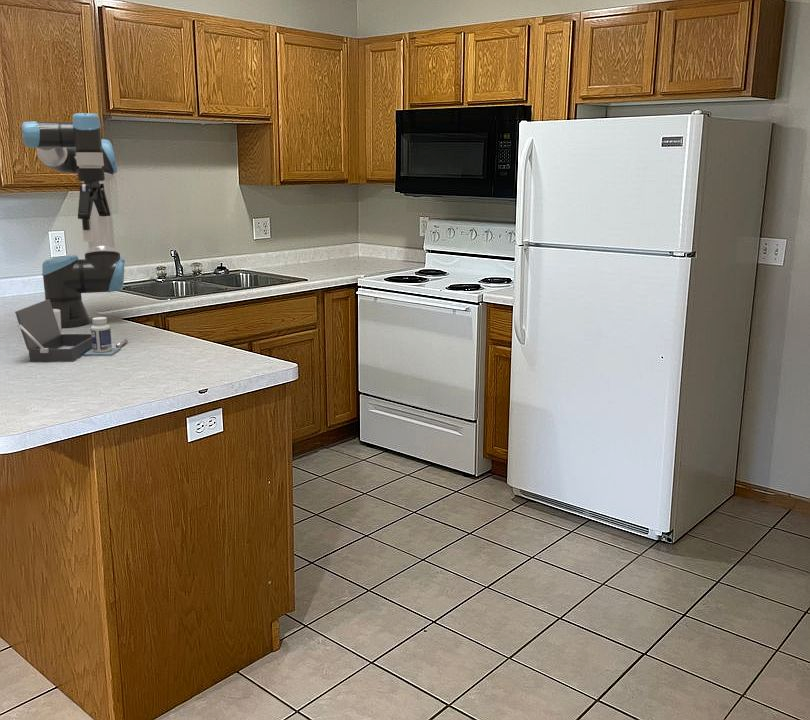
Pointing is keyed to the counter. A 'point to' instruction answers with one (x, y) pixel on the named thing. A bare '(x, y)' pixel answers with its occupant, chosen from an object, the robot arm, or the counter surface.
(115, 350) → the mat
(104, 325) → the pill bottle
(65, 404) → the counter surface
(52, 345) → the case
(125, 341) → the rod
